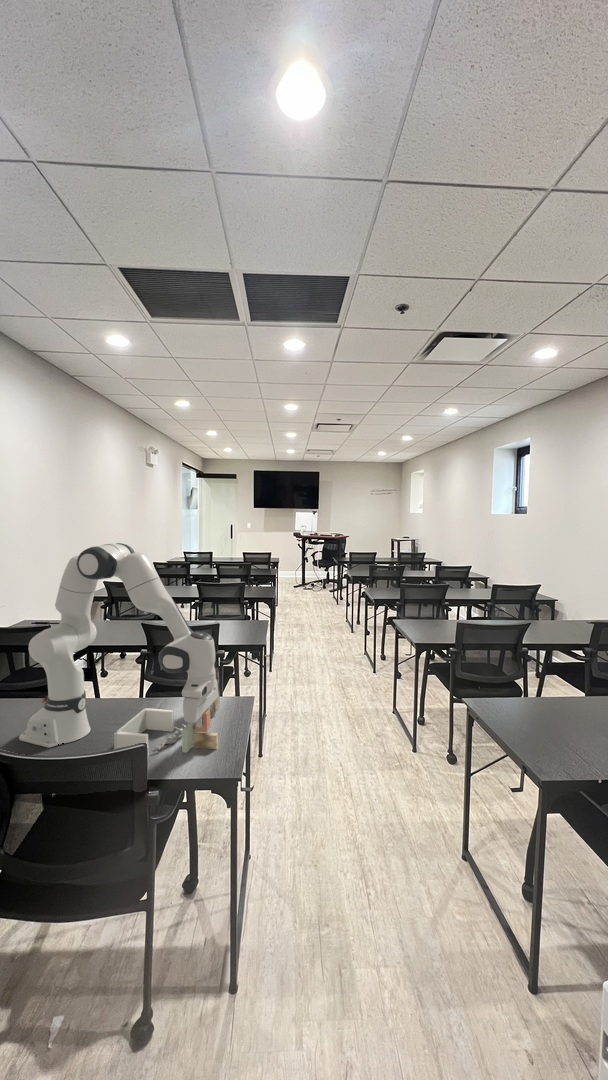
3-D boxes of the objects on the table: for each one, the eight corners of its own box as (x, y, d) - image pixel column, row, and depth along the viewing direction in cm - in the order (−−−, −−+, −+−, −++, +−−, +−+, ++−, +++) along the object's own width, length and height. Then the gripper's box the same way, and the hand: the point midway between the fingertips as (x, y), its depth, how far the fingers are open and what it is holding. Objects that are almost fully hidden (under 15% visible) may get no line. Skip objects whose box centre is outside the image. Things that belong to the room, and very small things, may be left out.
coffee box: (204, 706, 179) (203, 667, 178) (220, 707, 179) (219, 667, 178) (197, 717, 170) (197, 675, 169) (214, 717, 169) (213, 675, 169)
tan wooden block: (193, 747, 148) (193, 733, 148) (195, 744, 150) (195, 731, 149) (216, 749, 147) (216, 735, 146) (218, 746, 148) (218, 733, 148)
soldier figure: (150, 750, 148) (173, 724, 159) (161, 760, 148) (183, 733, 158) (160, 740, 144) (182, 714, 155) (171, 750, 144) (192, 723, 154)
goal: (114, 754, 143) (113, 733, 143) (145, 726, 162) (145, 708, 162) (146, 758, 142) (145, 736, 141) (173, 729, 160) (173, 710, 160)
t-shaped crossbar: (182, 752, 143) (181, 718, 142) (197, 733, 155) (197, 702, 154) (201, 754, 142) (201, 720, 141) (215, 735, 154) (215, 704, 153)
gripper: (205, 670, 158) (205, 709, 159) (179, 693, 138) (180, 737, 138) (222, 671, 157) (222, 710, 157) (198, 695, 136) (199, 739, 137)
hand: (202, 723), depth 148 cm, fingers closed on t-shaped crossbar, 3 cm apart
